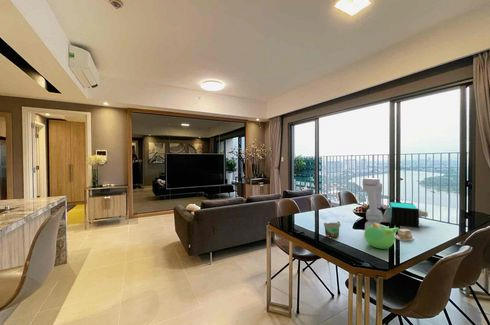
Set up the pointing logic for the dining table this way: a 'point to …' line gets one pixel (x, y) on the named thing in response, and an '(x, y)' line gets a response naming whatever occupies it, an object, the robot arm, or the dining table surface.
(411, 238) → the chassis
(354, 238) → the dining table surface
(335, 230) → the food container
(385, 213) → the ink cartridge box
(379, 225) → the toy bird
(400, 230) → the birch block
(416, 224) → the electronic device
